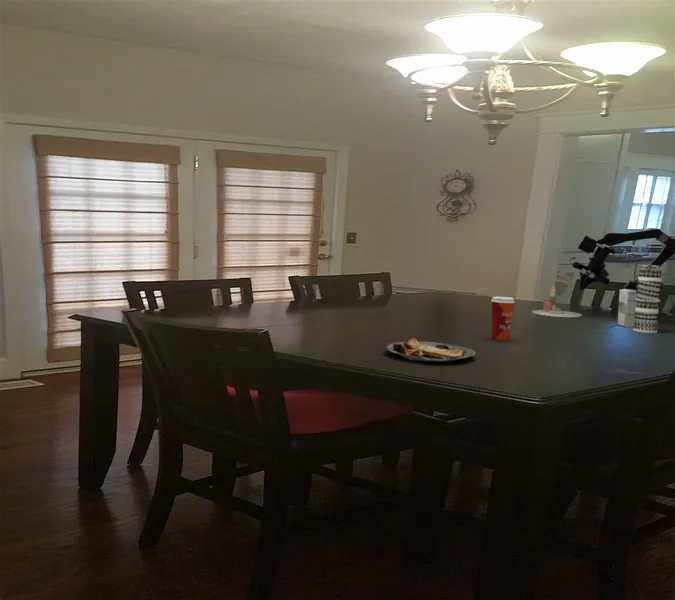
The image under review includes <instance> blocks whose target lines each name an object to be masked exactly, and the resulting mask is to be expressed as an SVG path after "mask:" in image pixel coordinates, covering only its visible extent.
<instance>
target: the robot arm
mask: <svg viewBox="0 0 675 600" xmlns="http://www.w3.org/2000/svg"><path fill="white" fill-rule="evenodd" d="M583 237H584V238H583V240H581V241H580V244H579V245H578V247H577V250H580V251H582V252H584V253H586V254H588V255H590V254H593V255H592V256H591V257H589V258H588V263H587V265H585V264H582V263H580V262H578V261H575V262H573V264H572V265H571V267H573V268H574V269H577V270H579V276H580V277H579V280H580V281H579V290H581V291H583V290H584V289H586V288H587V287H588V286H589V285H591V284H592V283H594V282H600V283H602V284H604V285H607V286H608V285H609V284H610V282H611V280H610V278H608V277H609V275H610V274H609V272H608V271H607V270H606V269H605V267H606V264H605V262H606V261H607V259H608V257H609V256H610V254H612V255H616V252H615V248H614V247H613V246H616V245H619V244H622V243H626V242H633V241H641V240H642V241H643V240H648V239H656V241H658V242H660V243H661V244H663V247H662V248H661V250H660V252H659V254H658V255H657V256H656V257H655V258H654V259H653V260H652V261H651V262H650V264H649V265H657V266H659V267H660V268H661V266H663V264H665V262H666V261H668V259H670V258H671V257H673V256H675V238H673V237H671V236H670V235H668V234H667V233H665V232H664V231H662V230H661V228H654V229H648V230H642V231H640V230H639V231H634V232H626V233H624V232H623V233H620V232H618V233H617V232H608V233H606V234H604V236H603V237H602V238H601V239H598V240H595V239H593V238H591V237H590V236H589V235H585V236H583ZM598 244H599V245H598ZM600 245H601V246H600ZM602 245H603V246H604V247H602ZM611 247H612V248H611ZM637 280H638V277H637V278H635V279H634V280H631V279H629V280H628V282H627V283H626V284H625V285H624V286H623V289H631V290H637V288H636V286H637V285H638V283H636V281H637Z"/></svg>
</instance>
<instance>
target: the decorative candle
mask: <svg viewBox="0 0 675 600" xmlns="http://www.w3.org/2000/svg"><path fill="white" fill-rule="evenodd" d="M638 269H639V272H638V277H637V278H638V280H637V281H636V283H638V285H637V286H636V288H637V290H636V292H637V293H638V294H637V295H636V300H637V304H636V309H635V311H636V312H634V313H635V314H636V315H635V316H634V318H636V319H635V320H634V321H633V322H634V323H635V324H634V325H633V327H632V328H633V329H632V331H635V332H638V333H645V334H647V333H648V334H656V333H658V328H659V326H658V325H659V322H658V321H659V317H658V316H660V313H659V303H660V302H661V298H662V296H661V294H662V291H660V290H662V289H663V287H662V286H663V284H664V282H662V271H663V269H662V268H661V267H659V266H657V265H650V264H643V265H642V266H640V267H639V268H638Z"/></svg>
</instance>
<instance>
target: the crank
mask: <svg viewBox="0 0 675 600" xmlns="http://www.w3.org/2000/svg"><path fill="white" fill-rule="evenodd" d="M556 295H557V286H549V294H548V302H551V310H557V311H562V308H561V307H559V306H556V299H557V297H556Z"/></svg>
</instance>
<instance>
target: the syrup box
mask: <svg viewBox="0 0 675 600" xmlns="http://www.w3.org/2000/svg"><path fill="white" fill-rule="evenodd" d="M637 294H638V293H637V292H636V290H631V289H624V288H623V289H619V294H618V295H619V297H618V306H617V307H618V308H617V321H616V322H617V323H616V325H617V326H620V327H624V328H634V327H633V325H634V324H635V323H634V322H633V321H634V320H635V319H636V318H634V316H635V315H636V314H635V313H634V312H636V311H635V309H636V304H637V300H636V295H637Z"/></svg>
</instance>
